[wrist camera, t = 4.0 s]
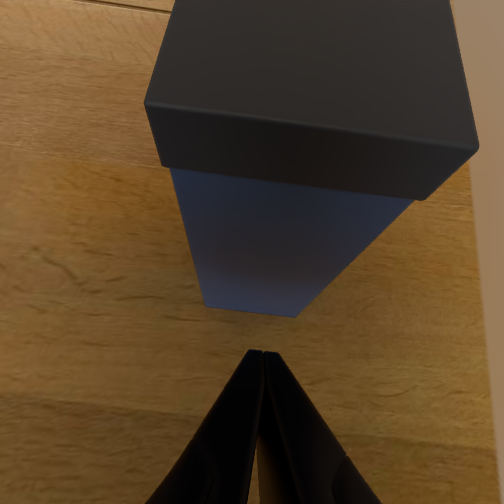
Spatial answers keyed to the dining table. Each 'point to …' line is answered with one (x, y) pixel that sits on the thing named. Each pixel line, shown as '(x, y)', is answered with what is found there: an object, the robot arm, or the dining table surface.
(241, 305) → the blue capped box
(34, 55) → the dining table surface
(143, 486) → the dining table surface
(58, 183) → the dining table surface
